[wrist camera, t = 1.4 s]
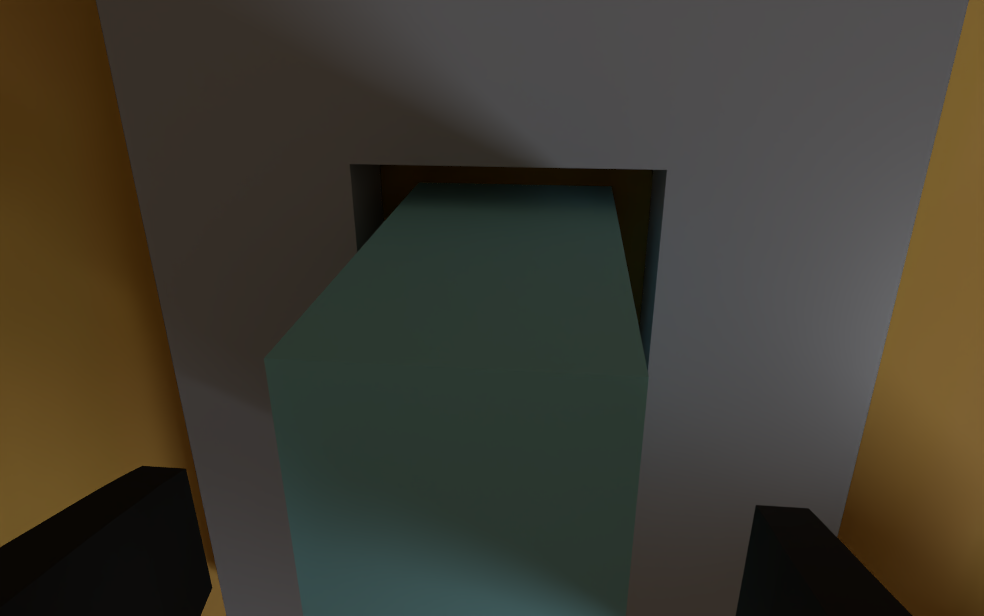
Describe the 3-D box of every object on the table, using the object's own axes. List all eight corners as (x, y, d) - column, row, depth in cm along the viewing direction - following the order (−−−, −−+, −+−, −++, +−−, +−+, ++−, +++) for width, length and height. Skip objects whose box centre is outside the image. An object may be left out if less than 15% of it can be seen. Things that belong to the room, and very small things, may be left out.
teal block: (595, 434, 17) (611, 769, 9) (430, 425, 17) (322, 739, 10) (611, 186, 14) (648, 377, 7) (418, 182, 15) (263, 359, 7)
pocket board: (774, 637, 18) (795, 707, 17) (266, 594, 20) (235, 654, 18) (947, -173, 11) (1019, -206, 9) (133, -148, 13) (58, -174, 11)
